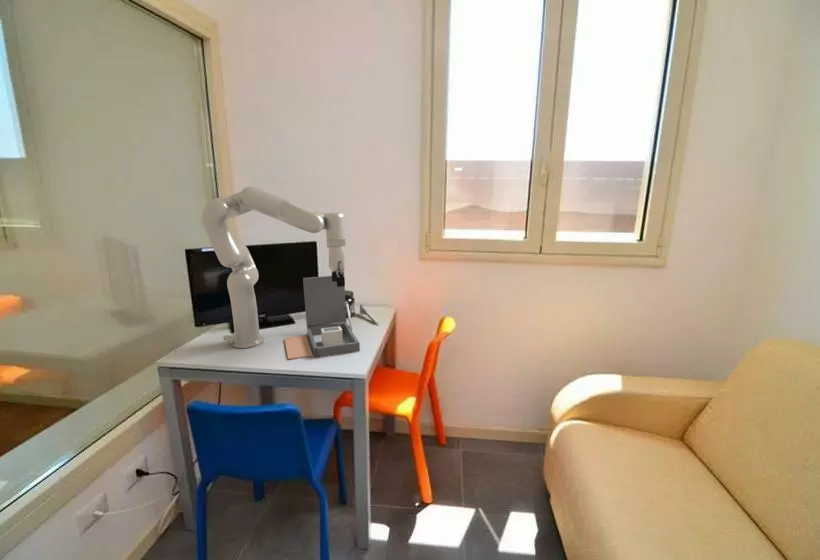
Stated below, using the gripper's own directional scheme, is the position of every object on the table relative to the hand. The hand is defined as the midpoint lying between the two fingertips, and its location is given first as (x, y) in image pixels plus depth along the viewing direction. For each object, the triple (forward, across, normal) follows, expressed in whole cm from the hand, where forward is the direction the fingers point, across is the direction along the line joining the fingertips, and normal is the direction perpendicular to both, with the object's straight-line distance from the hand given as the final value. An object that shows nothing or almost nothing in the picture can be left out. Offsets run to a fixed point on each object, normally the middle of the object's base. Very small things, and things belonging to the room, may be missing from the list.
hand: (338, 283), depth 167 cm
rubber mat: (+24, +4, -19) cm, 31 cm away
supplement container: (+24, -28, +8) cm, 38 cm away
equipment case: (+24, +4, -5) cm, 25 cm away
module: (+24, +4, -5) cm, 25 cm away
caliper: (+24, -18, +18) cm, 35 cm away
